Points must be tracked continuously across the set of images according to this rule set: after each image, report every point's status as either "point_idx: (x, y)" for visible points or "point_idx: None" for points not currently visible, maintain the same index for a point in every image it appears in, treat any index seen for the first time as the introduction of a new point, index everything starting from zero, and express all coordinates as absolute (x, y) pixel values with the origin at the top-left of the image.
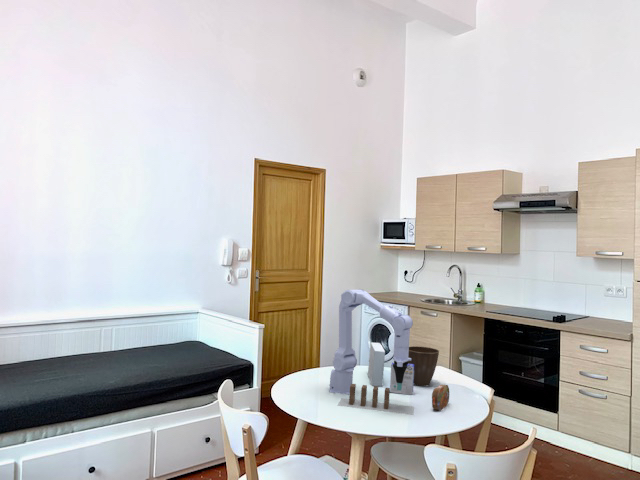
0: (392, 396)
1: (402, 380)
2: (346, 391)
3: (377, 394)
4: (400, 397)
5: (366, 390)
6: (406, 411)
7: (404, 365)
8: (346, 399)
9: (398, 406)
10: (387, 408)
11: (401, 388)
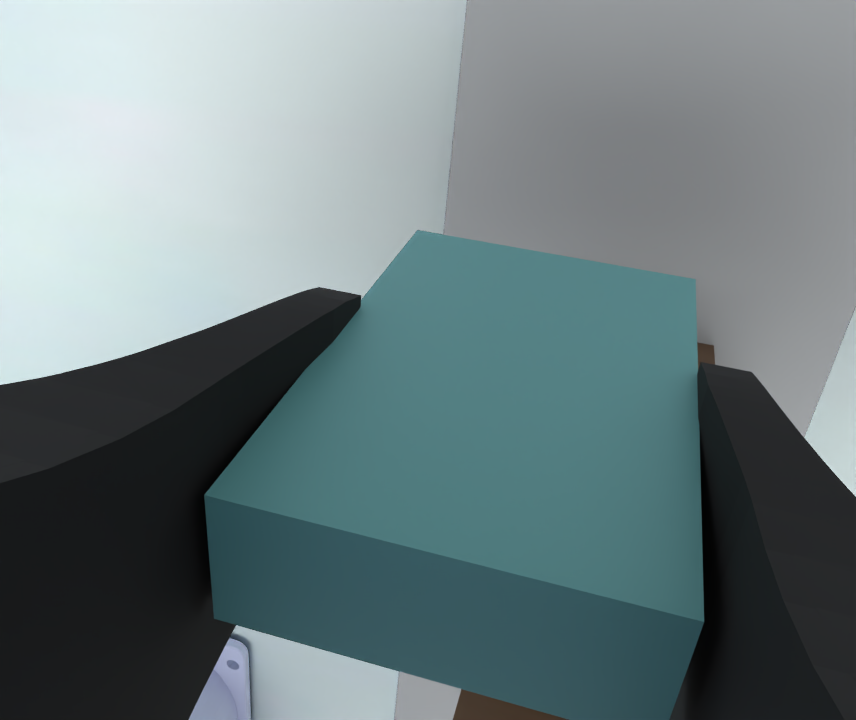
0: (71, 201)
1: (784, 419)
2: (219, 693)
3: None
4: (57, 85)
5: (483, 703)
6: (795, 51)
7: (62, 571)
8: (427, 712)
9: (538, 169)
10: (714, 358)
11: (612, 276)
